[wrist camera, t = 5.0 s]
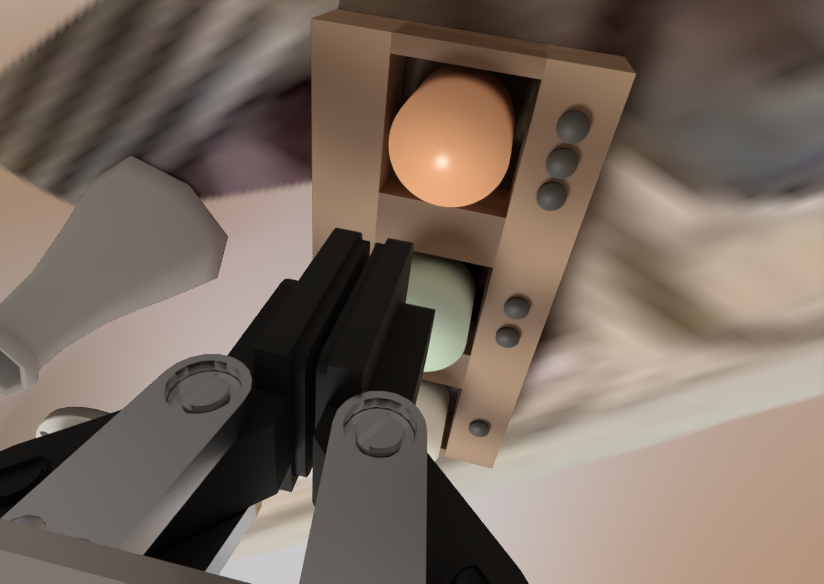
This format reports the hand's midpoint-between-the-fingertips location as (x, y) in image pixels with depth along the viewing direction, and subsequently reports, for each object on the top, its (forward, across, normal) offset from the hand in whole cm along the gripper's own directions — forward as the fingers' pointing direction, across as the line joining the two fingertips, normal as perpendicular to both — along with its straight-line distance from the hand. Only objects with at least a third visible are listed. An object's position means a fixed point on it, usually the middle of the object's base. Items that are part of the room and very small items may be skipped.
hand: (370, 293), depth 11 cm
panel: (+11, -1, +6) cm, 12 cm away
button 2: (+9, -1, +6) cm, 11 cm away
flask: (+12, +13, +7) cm, 19 cm away
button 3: (+10, -1, -1) cm, 10 cm away
